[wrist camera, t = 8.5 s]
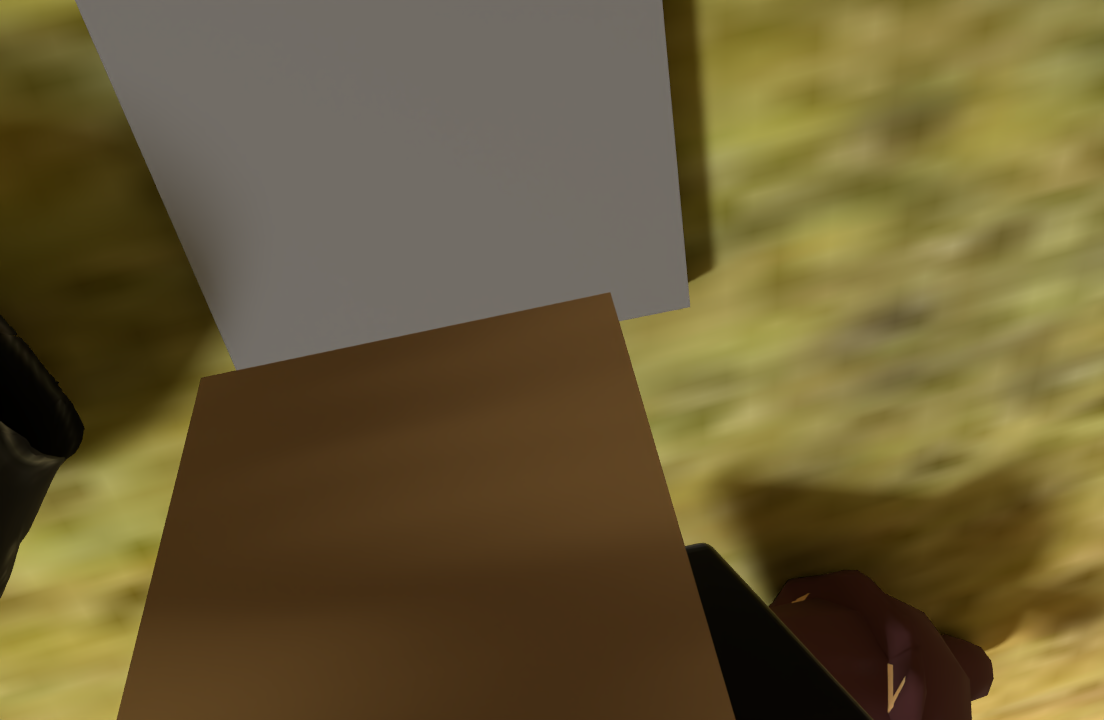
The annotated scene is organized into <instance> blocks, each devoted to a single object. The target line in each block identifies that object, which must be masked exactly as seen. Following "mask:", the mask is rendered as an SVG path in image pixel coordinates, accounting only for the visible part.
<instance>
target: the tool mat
mask: <svg viewBox="0 0 1104 720" xmlns="http://www.w3.org/2000/svg"><path fill="white" fill-rule="evenodd" d="M75 1H76V3H77V6H78V8H79V10H80V13H81V15H82V17H83V20H84V22H85V24H86V26H87V29H88V31H89V33H90V36H91V38H92V40H93V42H94V45H95V47H96V49H97V52H98V54H99V56H100V59H101V61H102V63H103V65H104V68H105V70H106V72H107V75H108V77H109V79H110V81H111V84H112V86H113V88H114V91H115V93H116V95H117V98H118V100H119V102H120V104H121V107H122V109H123V111H124V114H125V116H126V118H127V120H128V123H129V125H130V127H131V130H132V132H133V134H134V137H135V139H136V141H137V143H138V146H139V148H140V150H141V153H142V155H143V157H144V159H145V162H146V164H147V166H148V169H149V171H150V173H151V176H152V178H153V180H154V182H155V185H156V187H157V189H158V192H159V194H160V196H161V198H162V201H163V203H164V205H165V208H166V210H167V212H168V215H169V217H170V219H171V221H172V224H173V226H174V228H175V231H176V233H177V235H178V237H179V240H180V242H181V244H182V247H183V249H184V251H185V254H186V256H187V258H188V260H189V263H190V265H191V267H192V270H193V272H194V274H195V276H196V279H197V281H198V283H199V286H200V288H201V290H202V293H203V295H204V297H205V299H206V302H207V304H208V306H209V309H210V311H211V313H212V315H213V318H214V320H215V322H216V325H217V327H218V329H219V332H220V334H221V336H222V338H223V341H224V343H225V345H226V348H227V350H228V352H229V354H230V357H231V359H232V361H233V364H234V366H235V368H236V370H241V369H246V368H251V367H255V366H260V365H265V364H270V363H274V362H279V361H284V360H289V359H294V358H298V357H303V356H308V355H313V354H317V353H322V352H327V351H332V350H336V349H341V348H346V347H351V346H356V345H360V344H365V343H370V342H375V341H379V340H384V339H389V338H394V337H399V336H403V335H408V334H413V333H418V332H422V331H427V330H432V329H437V328H442V327H446V326H451V325H456V324H461V323H465V322H470V321H475V320H480V319H485V318H489V317H494V316H499V315H504V314H508V313H513V312H518V311H523V310H528V309H532V308H537V307H542V306H547V305H551V304H556V303H561V302H566V301H571V300H575V299H580V298H585V297H590V296H594V295H599V294H604V293H609V292H610V293H611V296H612V299H613V303H614V306H615V310H616V313H617V316H618V320H619V321H622V320H627V319H632V318H637V317H642V316H647V315H652V314H657V313H662V312H667V311H672V310H677V309H682V308H687V307H690V300H689V289H688V278H687V267H686V256H685V245H684V234H683V223H682V213H681V202H680V191H679V180H678V169H677V158H676V147H675V136H674V125H673V114H672V103H671V92H670V81H669V70H668V59H667V48H666V37H665V26H664V15H663V4H662V0H75Z"/></svg>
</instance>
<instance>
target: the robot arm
mask: <svg viewBox="0 0 1104 720" xmlns="http://www.w3.org/2000/svg"><path fill="white" fill-rule="evenodd" d="M685 549H686V552H687V556H688V559H689V562H690V566H691V569H692V573H693V576H694V579H695V583H696V586H697V590H698V593H699V597H700V600H701V603H702V607H703V610H704V614H705V617H706V620H707V624H708V627H709V631H710V634H711V637H712V641H713V644H714V648H715V651H716V655H717V658H718V661H719V665H720V668H721V672H722V675H723V678H724V682H725V685H726V689H727V692H728V696H729V699H730V702H731V706H732V709H733V713H734V716H735V719H736V720H873V719H872V718H871V717H870V715H869V714H868V713H867V712H866V711H865V710H864V709H863V708H862V707H861V706H860V705H859V704H858V703H857V702H856V700H855V699H854V698H853V697H852V696H851V695H850V694H849V693H848V692H847V691H846V690H845V689H844V688H843V686H842V685H841V684H840V683H839V682H838V681H837V680H836V679H835V678H834V677H833V676H832V675H831V674H830V673H829V671H828V670H827V669H826V668H825V667H824V666H823V665H822V664H821V663H820V662H819V661H818V660H817V659H816V657H815V656H814V655H813V654H812V653H811V652H810V651H809V650H808V649H807V648H806V647H805V646H804V645H803V644H802V642H801V641H800V640H799V639H798V638H797V637H796V636H795V635H794V634H793V633H792V632H791V631H790V630H789V628H788V627H787V626H786V625H785V624H784V623H783V622H782V621H781V620H780V619H779V618H778V617H777V616H776V615H775V613H774V612H773V611H772V610H771V609H770V608H769V607H768V606H767V605H766V604H765V603H764V602H763V601H762V600H761V598H760V597H759V596H758V595H757V594H756V593H755V592H754V591H753V590H752V589H751V588H750V587H749V586H748V584H747V583H746V582H745V581H744V580H743V579H742V578H741V577H740V576H739V575H738V574H737V573H736V572H735V571H734V569H733V568H732V567H731V566H730V565H729V564H728V563H727V562H726V561H725V560H724V559H723V558H722V557H721V555H720V554H719V553H718V552H717V551H716V550H715V549H714V548H713V547H711V546H710V545H709V544H706V543H698V544H693V545H688V546H685Z"/></svg>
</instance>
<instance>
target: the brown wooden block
mask: <svg viewBox="0 0 1104 720" xmlns="http://www.w3.org/2000/svg"><path fill="white" fill-rule="evenodd" d="M117 720H736V719H735V716H734V713H733V709H732V706H731V702H730V699H729V696H728V692H727V689H726V685H725V682H724V678H723V675H722V672H721V668H720V665H719V661H718V658H717V655H716V651H715V648H714V644H713V641H712V637H711V634H710V631H709V627H708V624H707V620H706V617H705V614H704V610H703V607H702V603H701V600H700V597H699V593H698V590H697V586H696V583H695V579H694V576H693V573H692V569H691V566H690V562H689V559H688V556H687V552H686V549H685V545H684V542H683V538H682V535H681V532H680V528H679V525H678V521H677V518H676V515H675V511H674V508H673V504H672V501H671V497H670V494H669V491H668V487H667V484H666V480H665V477H664V474H663V470H662V467H661V463H660V460H659V456H658V453H657V450H656V446H655V443H654V439H653V436H652V433H651V429H650V426H649V422H648V419H647V415H646V412H645V409H644V405H643V402H642V398H641V395H640V392H639V388H638V385H637V381H636V378H635V375H634V371H633V368H632V364H631V361H630V357H629V354H628V351H627V347H626V344H625V340H624V337H623V334H622V330H621V327H620V323H619V320H618V316H617V313H616V310H615V306H614V303H613V299H612V296H611V293H610V292H609V293H604V294H599V295H594V296H590V297H585V298H580V299H575V300H571V301H566V302H561V303H556V304H551V305H547V306H542V307H537V308H532V309H528V310H523V311H518V312H513V313H508V314H504V315H499V316H494V317H489V318H485V319H480V320H475V321H470V322H465V323H461V324H456V325H451V326H446V327H442V328H437V329H432V330H427V331H422V332H418V333H413V334H408V335H403V336H399V337H394V338H389V339H384V340H379V341H375V342H370V343H365V344H360V345H356V346H351V347H346V348H341V349H336V350H332V351H327V352H322V353H317V354H313V355H308V356H303V357H298V358H294V359H289V360H284V361H279V362H274V363H270V364H265V365H260V366H255V367H251V368H246V369H241V370H236V371H231V372H227V373H222V374H217V375H212V376H208V377H203V378H201V381H200V385H199V389H198V393H197V397H196V401H195V405H194V409H193V413H192V417H191V421H190V425H189V429H188V433H187V437H186V441H185V445H184V449H183V453H182V458H181V462H180V466H179V470H178V474H177V478H176V482H175V486H174V490H173V494H172V498H171V502H170V506H169V510H168V514H167V518H166V522H165V526H164V530H163V534H162V538H161V542H160V547H159V551H158V555H157V559H156V563H155V567H154V571H153V575H152V579H151V583H150V587H149V591H148V595H147V599H146V603H145V607H144V611H143V615H142V619H141V623H140V627H139V631H138V636H137V640H136V644H135V648H134V652H133V656H132V660H131V664H130V668H129V672H128V676H127V680H126V684H125V688H124V692H123V696H122V700H121V704H120V708H119V712H118V716H117Z"/></svg>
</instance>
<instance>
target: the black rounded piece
mask: <svg viewBox="0 0 1104 720" xmlns="http://www.w3.org/2000/svg"><path fill="white" fill-rule="evenodd" d="M14 335H17V333H16V331H15V330H14V329H13V328H12V327H11V326H9V325H8V323H7V322H6V321H5V319H4V318H3V317H2V316H1V315H0V598H1V596H2V594H3V592H4V590H5V587H6V584H7V582H8V580H9V578H10V575H11V572H12V569H13V566H14V562H15V559H16V555H17V552H18V549H19V545H20V543H21V541H22V540H23V539H24V537H25V536H26V534H27V533H28V531H29V530H30V528H31V526H32V523H33V521H34V519H35V517H36V515H37V513H38V510H39V508H40V506H41V504H42V502H43V499H44V497H45V495H46V493H47V491H48V488H49V486H50V484H51V482H52V480H53V478H54V476H55V474H56V472H57V470H58V468H59V467H60V466H61V465H62V463H63V462H64V461H65V460H66V459H67V458H69V457H70V456H72V455H73V454H74V453H75V452H76V451H77V449H78V448H79V445H80V443H81V441H82V437H83V431H84V426H83V423H82V421H81V419H80V417H79V415H78V413H77V412H76V410H75V408H74V406H73V404H72V403H71V401H70V400H69V399H68V397H67V396H66V395H65V394H64V393H63V392H62V390H61V388H60V387H59V386H58V383H59V382H56V381H55V379H54V377H52V376H51V375H50V374H49V373H48V371H47V370H46V369H45V368H44V366H43V365H42V364H41V362H40V361H39V360H38V358H37V357H36V356H35V354H34V353H33V351H32V350H31V349H30V347H29V346H28V345H27V344H26V343H25V342H24V341H23V339H22V338H19V337H16V336H14Z"/></svg>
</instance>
